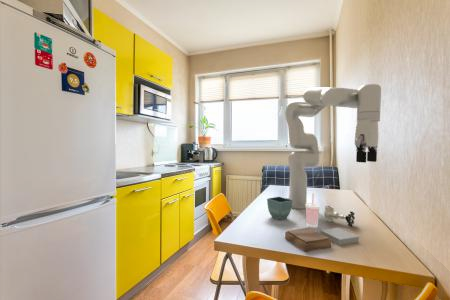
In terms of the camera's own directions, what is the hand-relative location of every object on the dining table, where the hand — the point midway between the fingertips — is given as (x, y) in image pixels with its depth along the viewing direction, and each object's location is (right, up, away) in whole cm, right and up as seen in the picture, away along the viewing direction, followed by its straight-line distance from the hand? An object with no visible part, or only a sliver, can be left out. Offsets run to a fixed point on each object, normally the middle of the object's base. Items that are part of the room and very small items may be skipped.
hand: (366, 161), depth 85 cm
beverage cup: (-17, -29, +11) cm, 35 cm away
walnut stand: (-25, -29, -6) cm, 39 cm away
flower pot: (-29, -28, +20) cm, 45 cm away
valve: (-4, -29, +15) cm, 33 cm away
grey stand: (-12, -29, -2) cm, 31 cm away
